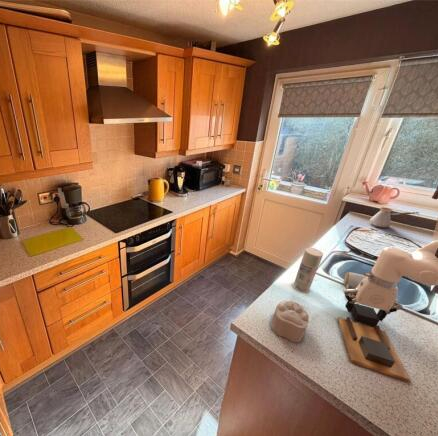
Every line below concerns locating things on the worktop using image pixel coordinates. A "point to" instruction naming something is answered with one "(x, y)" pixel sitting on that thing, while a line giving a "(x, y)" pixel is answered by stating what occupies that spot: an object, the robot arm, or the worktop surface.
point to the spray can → (307, 269)
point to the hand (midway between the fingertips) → (363, 313)
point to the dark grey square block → (364, 315)
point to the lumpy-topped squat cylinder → (290, 320)
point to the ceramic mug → (352, 280)
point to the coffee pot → (384, 217)
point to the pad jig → (371, 348)
